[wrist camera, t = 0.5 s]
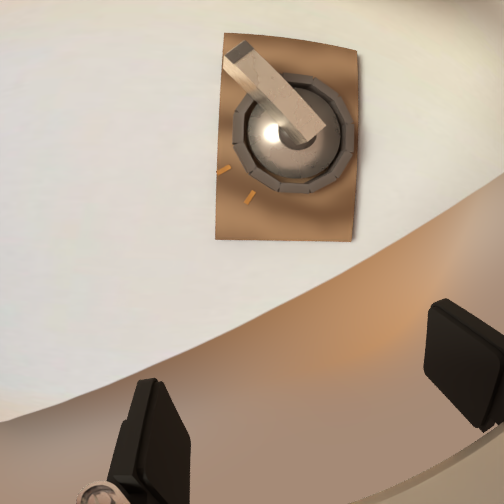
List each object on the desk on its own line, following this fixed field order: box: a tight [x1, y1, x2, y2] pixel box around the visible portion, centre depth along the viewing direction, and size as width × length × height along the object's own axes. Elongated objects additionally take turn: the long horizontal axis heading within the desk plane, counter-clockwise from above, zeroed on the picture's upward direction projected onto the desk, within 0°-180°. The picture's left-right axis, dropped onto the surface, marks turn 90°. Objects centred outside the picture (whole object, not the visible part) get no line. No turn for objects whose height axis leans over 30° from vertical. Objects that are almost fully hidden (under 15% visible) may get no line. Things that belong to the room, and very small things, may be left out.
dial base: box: [215, 33, 358, 242], centre depth 32 cm, size 24×16×4 cm
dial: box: [223, 40, 340, 179], centre depth 29 cm, size 15×10×7 cm, turn 43°
